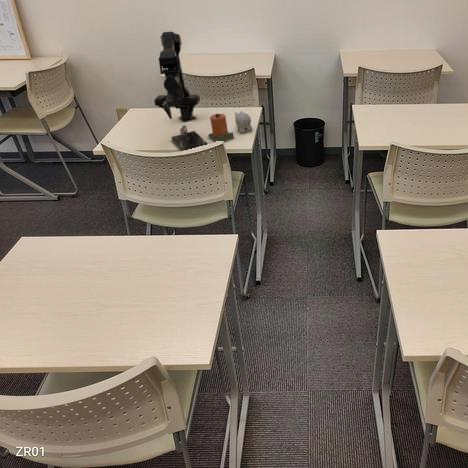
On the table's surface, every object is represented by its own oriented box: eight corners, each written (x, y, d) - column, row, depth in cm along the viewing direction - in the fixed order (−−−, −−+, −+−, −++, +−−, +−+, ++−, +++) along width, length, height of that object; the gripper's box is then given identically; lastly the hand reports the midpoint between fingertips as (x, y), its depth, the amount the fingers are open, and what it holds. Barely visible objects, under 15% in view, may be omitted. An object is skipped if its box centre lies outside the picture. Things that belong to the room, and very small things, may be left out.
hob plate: (176, 142, 213) (176, 141, 213) (199, 136, 218) (199, 135, 217) (185, 150, 206) (184, 149, 206) (208, 144, 210) (208, 143, 210)
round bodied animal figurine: (245, 123, 233) (243, 106, 228) (254, 131, 224) (252, 114, 219) (231, 126, 230) (229, 109, 225) (239, 135, 221) (237, 117, 216)
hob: (170, 139, 221) (169, 135, 220) (193, 133, 225) (192, 129, 224) (185, 155, 207) (184, 150, 206) (209, 148, 211) (208, 144, 210)
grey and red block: (184, 133, 221) (182, 125, 218) (187, 133, 221) (186, 124, 218) (181, 137, 217) (179, 129, 214) (185, 137, 217) (183, 129, 214)
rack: (208, 137, 220) (207, 131, 219) (223, 132, 224) (222, 126, 223) (218, 143, 215) (217, 137, 213) (233, 138, 219) (233, 132, 217)
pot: (210, 134, 219) (206, 114, 213) (223, 129, 222) (220, 110, 217) (217, 138, 215) (214, 118, 209) (230, 134, 218) (227, 114, 212)
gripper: (146, 91, 199) (155, 126, 208) (190, 90, 198) (197, 125, 207) (154, 82, 208) (162, 116, 217) (197, 81, 207) (203, 115, 216)
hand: (181, 118), depth 214 cm, fingers open, 9 cm apart
